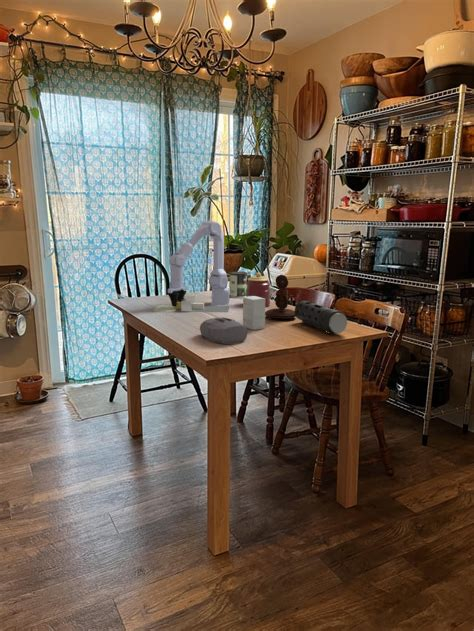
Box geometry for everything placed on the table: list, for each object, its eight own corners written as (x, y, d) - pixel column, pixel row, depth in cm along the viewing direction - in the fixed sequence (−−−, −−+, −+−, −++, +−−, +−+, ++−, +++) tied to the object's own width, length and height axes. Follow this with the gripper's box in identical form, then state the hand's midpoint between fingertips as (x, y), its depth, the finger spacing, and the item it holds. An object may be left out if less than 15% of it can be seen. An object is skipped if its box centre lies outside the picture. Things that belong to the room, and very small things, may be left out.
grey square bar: (194, 305, 252) (194, 296, 251) (191, 311, 238) (191, 301, 237) (185, 305, 253) (184, 296, 252) (181, 311, 238) (181, 301, 237)
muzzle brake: (311, 321, 222) (312, 299, 219) (348, 336, 196) (349, 311, 194) (293, 323, 218) (294, 300, 216) (328, 338, 193) (329, 312, 191)
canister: (244, 307, 252) (244, 273, 248) (246, 302, 264) (247, 270, 261) (269, 308, 250) (270, 274, 247) (270, 303, 263) (271, 271, 259)
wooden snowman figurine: (297, 321, 220) (299, 278, 216) (265, 321, 221) (266, 277, 217) (295, 315, 235) (296, 273, 231) (264, 314, 236) (265, 273, 231)
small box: (265, 328, 207) (265, 298, 204) (252, 330, 204) (253, 299, 201) (254, 324, 214) (254, 295, 211) (242, 326, 210) (242, 296, 208)
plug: (204, 308, 246) (204, 302, 246) (203, 309, 244) (203, 303, 243) (172, 307, 247) (172, 301, 247) (171, 308, 244) (171, 302, 244)
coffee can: (248, 295, 288) (248, 271, 285) (245, 298, 278) (245, 273, 275) (231, 294, 290) (231, 271, 287) (227, 297, 280) (227, 273, 277)
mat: (229, 306, 253) (229, 306, 253) (228, 313, 237) (228, 312, 237) (158, 305, 253) (158, 305, 253) (152, 312, 238) (152, 311, 238)
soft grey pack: (252, 341, 187) (223, 330, 203) (252, 320, 185) (223, 311, 201) (219, 347, 178) (191, 335, 194) (219, 325, 177) (191, 315, 192)
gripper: (176, 280, 234) (176, 308, 237) (191, 277, 247) (190, 304, 250) (164, 279, 237) (164, 307, 240) (179, 276, 250) (179, 302, 253)
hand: (177, 305), depth 245 cm, fingers open, 5 cm apart
